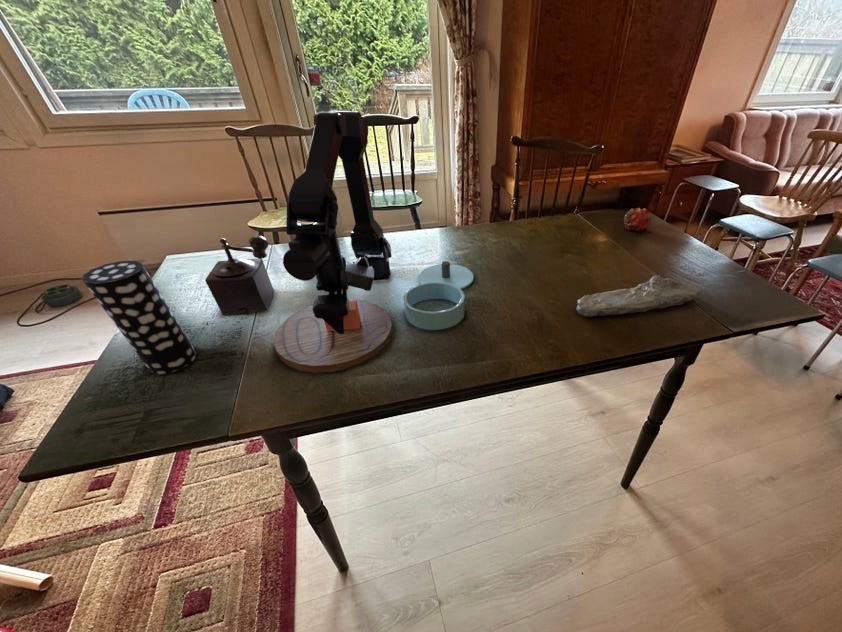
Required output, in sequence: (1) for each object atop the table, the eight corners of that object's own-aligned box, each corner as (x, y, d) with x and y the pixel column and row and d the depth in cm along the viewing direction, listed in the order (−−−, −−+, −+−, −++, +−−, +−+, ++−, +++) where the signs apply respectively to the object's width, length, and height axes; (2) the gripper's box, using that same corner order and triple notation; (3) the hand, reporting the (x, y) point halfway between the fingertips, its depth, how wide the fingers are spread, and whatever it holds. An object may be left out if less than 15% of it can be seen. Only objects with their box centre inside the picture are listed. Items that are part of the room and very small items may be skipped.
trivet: (376, 297, 97) (375, 291, 96) (407, 352, 80) (406, 345, 79) (271, 320, 88) (269, 313, 87) (282, 387, 71) (279, 380, 70)
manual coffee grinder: (220, 317, 89) (182, 244, 77) (232, 294, 97) (199, 225, 85) (289, 310, 92) (263, 239, 80) (295, 288, 100) (272, 221, 88)
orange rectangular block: (327, 331, 82) (321, 312, 79) (329, 321, 85) (323, 302, 82) (360, 328, 83) (355, 309, 80) (360, 318, 86) (356, 300, 83)
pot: (407, 334, 85) (405, 316, 82) (404, 301, 96) (402, 284, 93) (469, 328, 88) (469, 310, 85) (459, 296, 98) (459, 279, 95)
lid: (421, 295, 98) (419, 278, 95) (416, 269, 110) (415, 252, 107) (478, 291, 101) (478, 273, 98) (468, 265, 112) (468, 249, 109)
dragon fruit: (617, 235, 137) (641, 235, 142) (635, 228, 129) (660, 228, 134) (616, 211, 137) (640, 212, 141) (634, 203, 129) (659, 204, 134)
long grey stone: (566, 307, 98) (584, 330, 91) (569, 290, 94) (589, 312, 88) (679, 284, 105) (704, 303, 98) (686, 267, 101) (712, 286, 95)
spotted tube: (163, 348, 80) (103, 261, 67) (204, 347, 80) (153, 260, 67) (139, 374, 73) (68, 283, 60) (184, 373, 74) (123, 282, 61)
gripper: (366, 275, 68) (380, 342, 78) (369, 235, 82) (379, 297, 92) (302, 279, 66) (324, 348, 76) (315, 238, 80) (332, 301, 90)
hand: (343, 321), depth 83 cm, fingers open, 9 cm apart
